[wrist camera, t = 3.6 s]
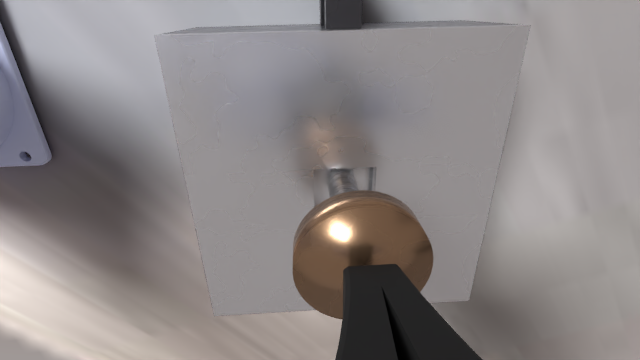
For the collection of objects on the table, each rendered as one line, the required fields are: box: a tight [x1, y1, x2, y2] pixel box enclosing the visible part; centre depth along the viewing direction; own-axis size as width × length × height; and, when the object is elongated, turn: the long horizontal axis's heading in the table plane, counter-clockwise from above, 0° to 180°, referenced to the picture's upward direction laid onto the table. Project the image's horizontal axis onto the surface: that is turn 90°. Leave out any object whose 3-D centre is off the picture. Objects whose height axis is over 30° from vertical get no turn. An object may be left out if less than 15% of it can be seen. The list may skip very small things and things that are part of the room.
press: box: [154, 0, 531, 316], centre depth 15 cm, size 12×14×5 cm
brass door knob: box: [293, 167, 433, 319], centre depth 12 cm, size 10×10×6 cm
